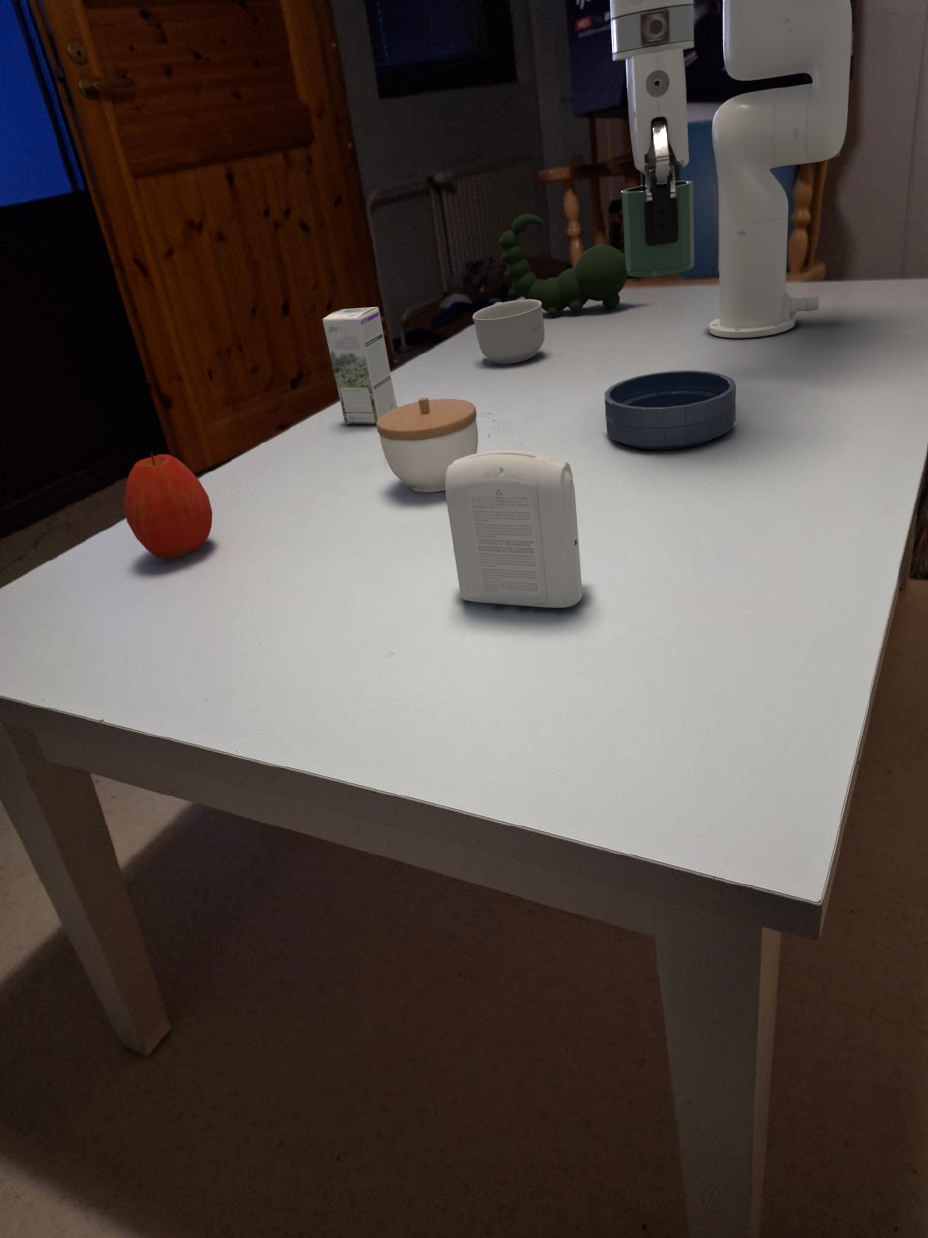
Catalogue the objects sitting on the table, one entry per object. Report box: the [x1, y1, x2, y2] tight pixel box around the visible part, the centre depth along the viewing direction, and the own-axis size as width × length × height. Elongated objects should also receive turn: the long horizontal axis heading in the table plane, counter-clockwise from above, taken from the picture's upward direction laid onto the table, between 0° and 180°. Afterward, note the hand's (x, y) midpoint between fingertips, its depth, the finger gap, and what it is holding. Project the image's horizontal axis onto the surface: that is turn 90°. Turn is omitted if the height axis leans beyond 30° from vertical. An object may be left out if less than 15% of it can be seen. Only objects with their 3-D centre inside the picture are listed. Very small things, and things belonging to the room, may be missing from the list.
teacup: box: [472, 298, 545, 365], centre depth 142 cm, size 14×11×8 cm
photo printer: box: [444, 449, 583, 609], centre depth 70 cm, size 10×4×12 cm, turn 69°
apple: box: [123, 452, 213, 560], centre depth 90 cm, size 8×8×11 cm
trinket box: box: [375, 396, 479, 494], centre depth 97 cm, size 11×11×9 cm
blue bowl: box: [603, 369, 737, 450], centre depth 101 cm, size 14×14×5 cm
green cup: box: [621, 180, 695, 278], centre depth 92 cm, size 7×7×8 cm
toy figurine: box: [497, 213, 628, 318], centre depth 162 cm, size 9×19×25 cm
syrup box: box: [322, 306, 398, 425], centre depth 121 cm, size 6×6×14 cm
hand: (659, 237), depth 93 cm, fingers closed on green cup, 7 cm apart
